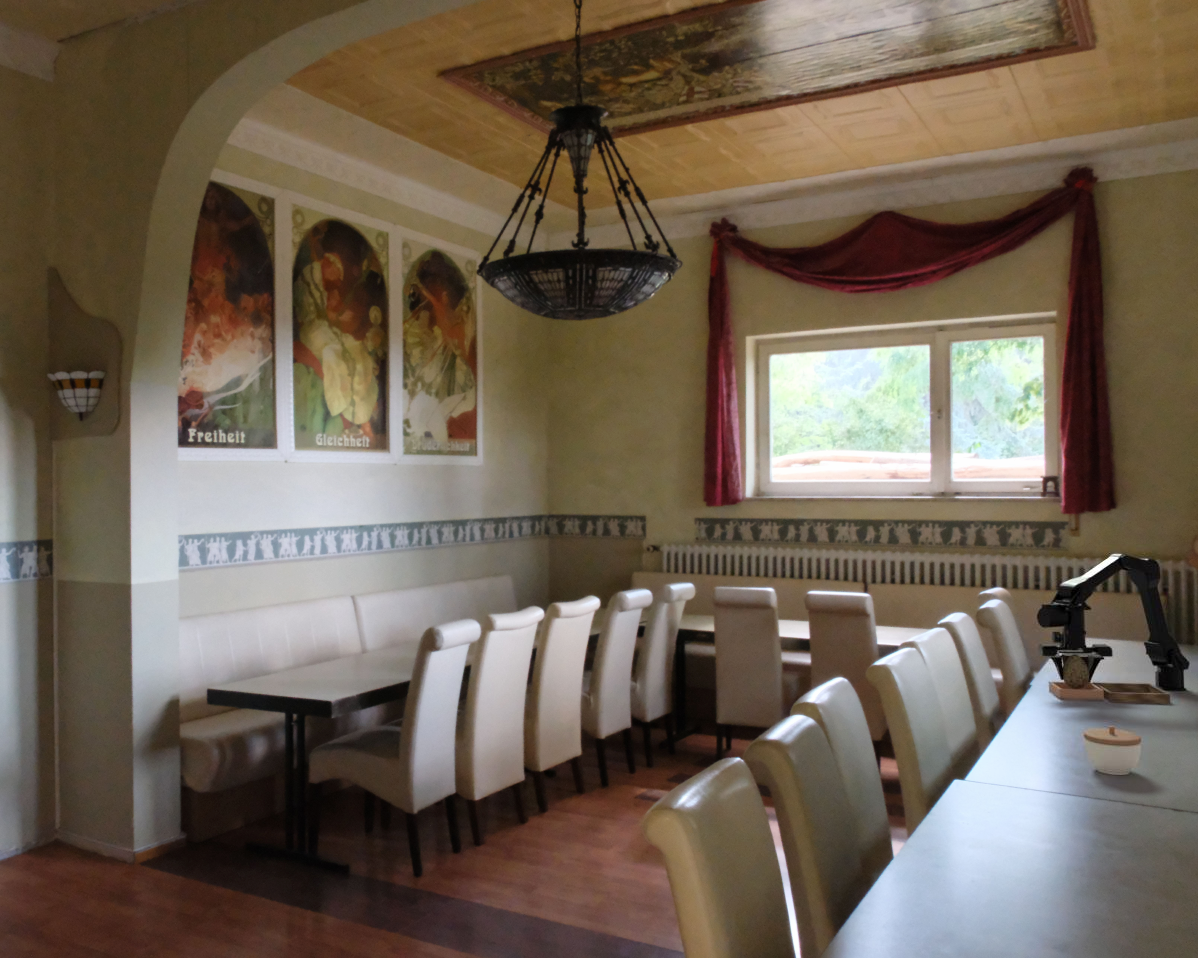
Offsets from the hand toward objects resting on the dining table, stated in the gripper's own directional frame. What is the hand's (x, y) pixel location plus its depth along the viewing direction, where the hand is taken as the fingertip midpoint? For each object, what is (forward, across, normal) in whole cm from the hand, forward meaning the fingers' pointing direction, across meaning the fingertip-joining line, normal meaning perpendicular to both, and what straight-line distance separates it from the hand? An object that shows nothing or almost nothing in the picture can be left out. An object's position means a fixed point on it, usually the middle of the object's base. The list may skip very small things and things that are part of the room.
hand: (1075, 679), depth 281 cm
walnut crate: (+4, -14, 0) cm, 15 cm away
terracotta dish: (+4, 0, 0) cm, 5 cm away
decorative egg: (+3, 0, 0) cm, 3 cm away
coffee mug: (+5, -4, -14) cm, 15 cm away
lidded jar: (+4, +14, +80) cm, 81 cm away
